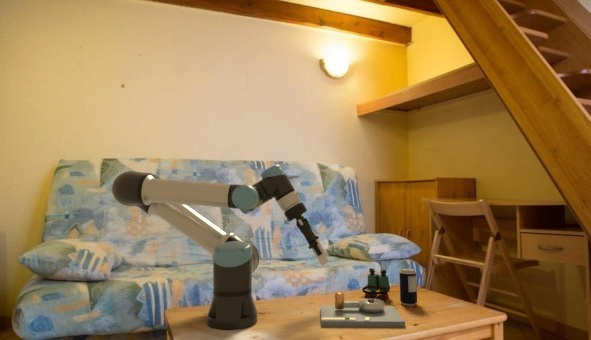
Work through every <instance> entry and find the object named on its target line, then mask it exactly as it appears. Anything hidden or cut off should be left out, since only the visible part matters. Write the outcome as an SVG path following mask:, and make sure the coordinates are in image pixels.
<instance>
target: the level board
mask: <svg viewBox="0 0 591 340" xmlns="http://www.w3.org/2000/svg"><path fill="white" fill-rule="evenodd" d="M319 307H320V320H321V321H320V322H321V327H333V328H334V327H336V328H337V327H340V328H341V327H342V328H343V327H344V328H345V327H347V328H348V327H357V328H358V327H363V328H365V327H366V328H369V327H370V328H373V327H374V328H377V327H378V328H379V327H380V328H405V327H406V321H405V320H404V318H403V317H402V315H401V314H400V312H399V311H398V310H397V309H396V308H395V307H394V306H393V305H384V311H383V312H380V313H366V312H362V311H360V310H359V309H358V308H344V309H335V305H320V306H319Z"/></svg>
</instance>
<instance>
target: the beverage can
mask: <svg viewBox="0 0 591 340" xmlns="http://www.w3.org/2000/svg"><path fill="white" fill-rule="evenodd" d="M417 286H418V284H417V272H416V269H415V268H412V267H411V268H410V267H405V268H400V271H399V299H400V300H399V302H400V303H402V305H403V306H407V307H413V306H416V304H417V303H418V287H417Z"/></svg>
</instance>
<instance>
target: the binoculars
mask: <svg viewBox="0 0 591 340" xmlns="http://www.w3.org/2000/svg"><path fill="white" fill-rule="evenodd" d="M368 270H369V274H367V284H366V285H365V286H364V287H362V289H361V290H362V292H363V293H364V299H367V298H372V299H379V300H382V301H383V302H384V301H386V300H387V299H388V298H390V295H389V293H390V292H391V290H390V289H391V286H390V281H389V280H390V279H389V275H386V274H387V269H383V270H380V274H378V273H375V272H376V270H375V268H373V267H372V268H369V269H368ZM375 297H376V298H375Z"/></svg>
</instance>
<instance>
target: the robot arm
mask: <svg viewBox="0 0 591 340" xmlns="http://www.w3.org/2000/svg"><path fill="white" fill-rule="evenodd" d="M260 176H261V179H260V180H259V181H257V182H256V183H254V184H252V185H250V184H234V183H233V184H232V183H219V182H218V183H217V182H207V181H193V180H177V179H167V178H165V179H164V178H162V177H159V176H158V175H157V174H153V173H150V172H141V171H136V170H134V171H133V170H128V171H124V172H122V173H120V174H119V175H118V176H117V177H115V179H114V180H113V183H112V186H111V192H112V196H113V197H114V199H115V200H116V202H117V203H119V204H120V205H123V206H126V207H137V208H139V209H140V210H141V211H143V212H144V213H146V214H147V215H149V216H154V215H155V216H158V217H159V218H161V219H162V220H163V221H165V222H166V223H167V224H169V225H170V226H172V227H173V228H174V229H176V230H177V231H178V232H180V233H181V234H182V235H184V236H185V237H187V238H188V239H190V240H191V241H193V243H195V244H196V245H197V246H200V247H201V248H202V249H204V250H205V251H206V252H207V253H209V254H210V255H211V258H212V261H213V265H212V266H213V269H212V272H213V274H212V277H213V279H212V280H213V281H212V283H213V284H212V285H213V286H212V294H213V295H212V299H211V303H210V306H209V309H208V312H207V315H206V324H207V326H208V327H211V328H214V329H218V330H237V329H243V328H244V329H245V328H248V327H251V326H253V325H255V324H256V323H257V322H258V311H257V308H256V304H255V301H254V298H253V292H252V291H253V289H252V287H253V286H252V285H253V284H252V283H253V279H252V278H253V275H252V274H253V273H254V272H255V271H256V270H257V268H258V266H259V263H260V252H259V249H258V247H257V246H256V245H255V244H254V243H253V242H251V241H248V240H245V239H243V238H241V237H240V236H238V235H237V234H236V233H234V232H229V233H226V231H224V230H222V228H220V227H218V226H217V225H215V224H214V223H212V222H211V221H210V220H209V219H207V218H206V217H204V216H203V215H201V214H200V213H198V212H197V211H196V210H195V209H193V208H191V206H196V207H197V206H199V207H211V208H226V209H235V210H237V209H238V210H239V211H240V212H241V213H242V214H244V215H247V214H249V213H251V212H254V211H255V209H256V210H257V208H260V207H261V206H262V205H264V204H265V203H267V202H269V201H271V200H272V199H275V201H276V203H277V204H278V207H279V209H281V212H283V214H284V216H285V218H286V220H287V221H288V222H292V221H293V220H296V222H295V223H296V226H297V228H298V229H299V230H300V232H301V234H303V236H304V238H305V240H306V241H307V243H308V246H307V247H308V249H309V250H312V252H313V253H314V255H315V256H316V259H318V261H319V263H320V265H321V267H323V266H324V265H327V263H329V262H330V260H329V259H328V257H327V256H328V253H327V252H326V250H325V249H324V247H323V245H322V244H321V242H320V241H319V239H320V236H319V235H316V234H315V233H314V231H313V229H312V227H311V224H310V223H309V221H308V218H307V217H305V216H304V215H303V214H304V213H306V212H307V211H308V209H307V206H305V204H304V203H303V202H302V201H301V198H300V196H299V194H300V192H298V191H297V192H296V189H295V188H294V186H293V184H292V183H291V180H289V177H288V176H287V174H286V173H285V171H284V169H283V168H282V167H281V165H279V164H273V165H270V166H269V167H268V168H267V169H265V170H264V171H262V173H261V174H260Z"/></svg>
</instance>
